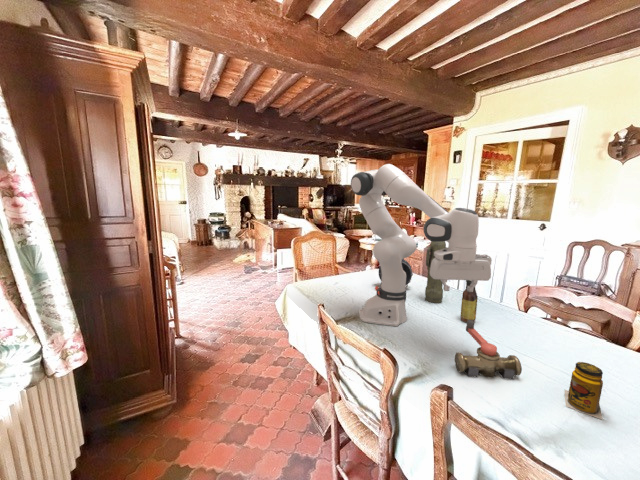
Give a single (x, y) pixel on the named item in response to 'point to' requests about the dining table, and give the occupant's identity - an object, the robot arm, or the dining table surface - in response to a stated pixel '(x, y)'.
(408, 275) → the ring
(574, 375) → the condiment
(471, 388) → the dining table surface
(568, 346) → the dining table surface
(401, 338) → the dining table surface
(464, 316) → the sauce bottle
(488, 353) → the lever
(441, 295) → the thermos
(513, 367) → the valve body
